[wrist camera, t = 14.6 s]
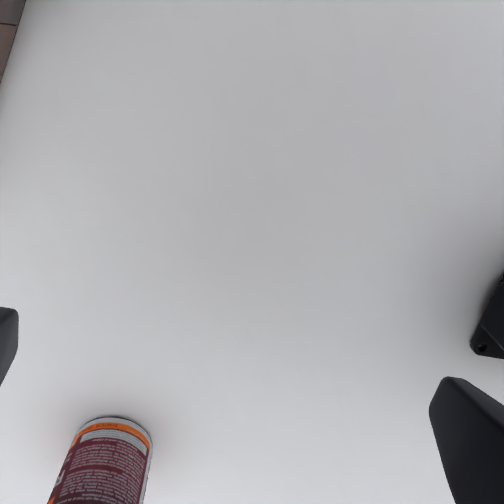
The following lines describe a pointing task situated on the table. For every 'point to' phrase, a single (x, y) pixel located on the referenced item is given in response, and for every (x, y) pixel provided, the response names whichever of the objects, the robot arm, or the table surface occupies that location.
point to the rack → (8, 27)
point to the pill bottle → (105, 465)
